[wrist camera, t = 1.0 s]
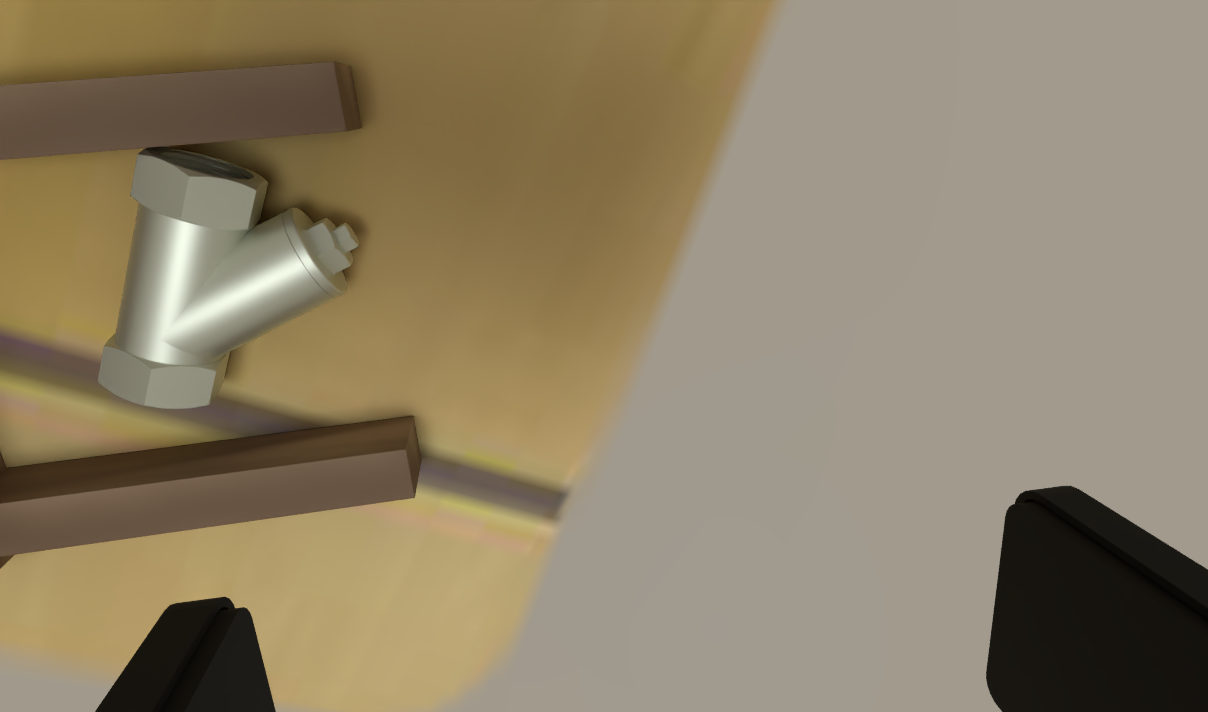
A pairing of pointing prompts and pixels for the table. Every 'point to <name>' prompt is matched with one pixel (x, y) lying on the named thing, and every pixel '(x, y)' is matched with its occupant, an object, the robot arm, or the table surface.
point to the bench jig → (214, 469)
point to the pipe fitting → (210, 276)
